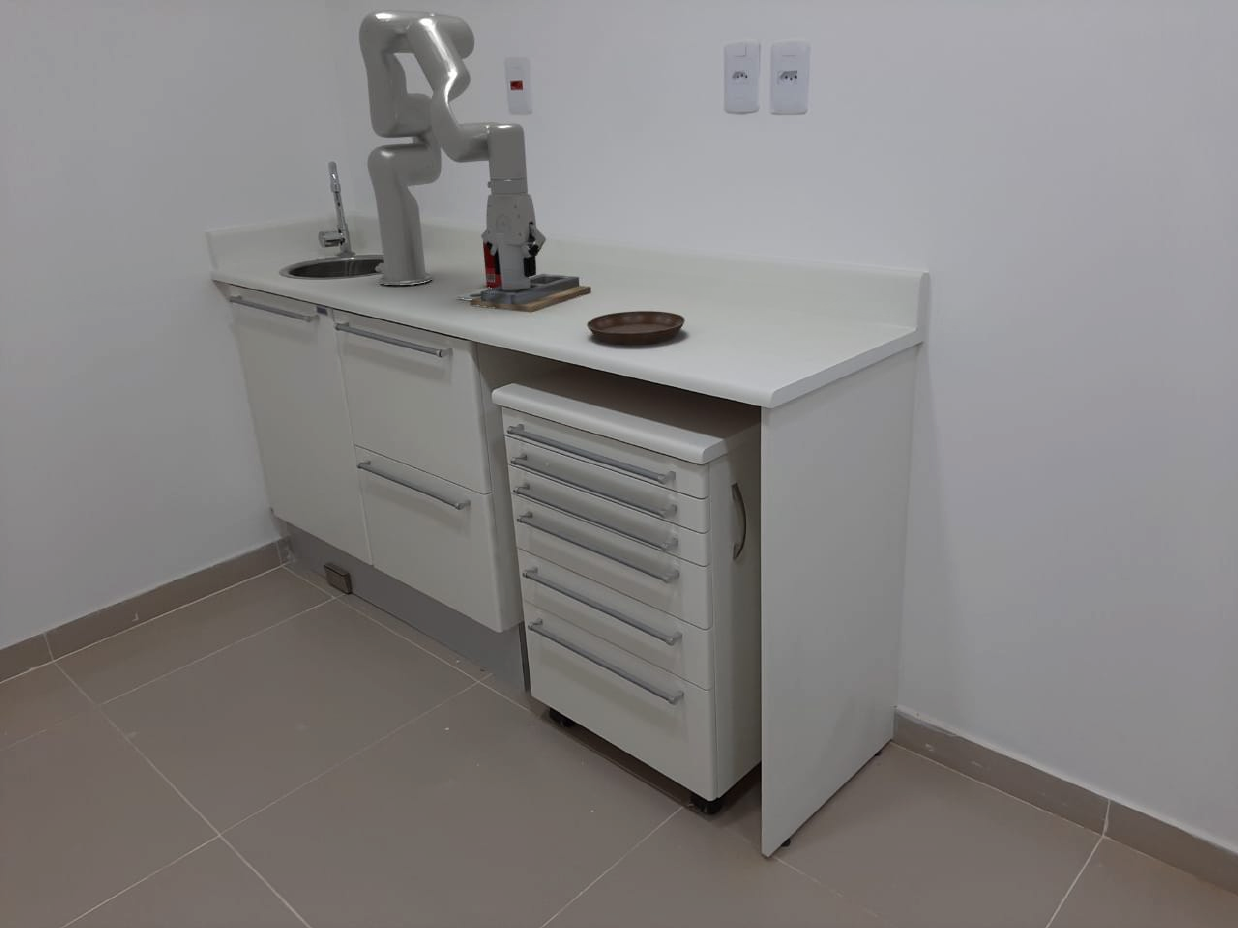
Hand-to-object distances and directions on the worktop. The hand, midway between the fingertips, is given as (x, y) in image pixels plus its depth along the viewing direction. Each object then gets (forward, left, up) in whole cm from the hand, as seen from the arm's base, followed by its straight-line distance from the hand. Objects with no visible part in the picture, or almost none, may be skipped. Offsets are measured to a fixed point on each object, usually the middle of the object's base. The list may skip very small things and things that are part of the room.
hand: (515, 274), depth 204 cm
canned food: (-15, +14, -6) cm, 21 cm away
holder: (0, +5, -6) cm, 8 cm away
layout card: (-12, +3, -6) cm, 14 cm away
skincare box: (0, 0, -3) cm, 3 cm away
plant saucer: (+38, -14, -7) cm, 41 cm away
